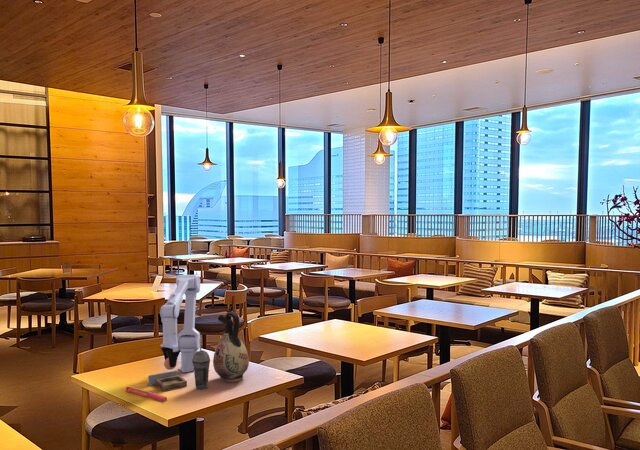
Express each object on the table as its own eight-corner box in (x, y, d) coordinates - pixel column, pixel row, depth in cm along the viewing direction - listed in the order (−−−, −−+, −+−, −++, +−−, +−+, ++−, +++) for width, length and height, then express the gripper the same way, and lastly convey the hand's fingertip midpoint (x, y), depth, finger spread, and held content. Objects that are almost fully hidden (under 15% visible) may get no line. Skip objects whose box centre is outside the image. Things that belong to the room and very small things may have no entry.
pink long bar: (132, 391, 203) (122, 391, 199) (133, 386, 203) (124, 385, 199) (170, 402, 189) (161, 402, 186) (172, 396, 190) (162, 396, 186)
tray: (179, 380, 213) (179, 375, 212) (186, 386, 204) (186, 381, 204) (155, 384, 207) (155, 379, 207) (162, 391, 199) (162, 386, 199)
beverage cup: (194, 392, 196) (193, 343, 196) (190, 387, 203) (189, 339, 203) (212, 389, 200) (211, 340, 199) (208, 384, 206) (207, 337, 206)
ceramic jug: (206, 379, 212) (204, 311, 212) (234, 371, 224) (233, 306, 223) (229, 388, 201) (228, 315, 200) (259, 379, 212) (257, 310, 212)
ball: (174, 366, 209) (174, 355, 209) (178, 369, 205) (178, 357, 205) (162, 368, 206) (162, 357, 206) (166, 372, 202) (165, 359, 202)
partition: (175, 378, 215) (175, 369, 215) (178, 380, 212) (177, 371, 212) (147, 384, 208) (147, 374, 208) (149, 386, 205) (149, 376, 205)
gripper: (155, 331, 209) (156, 363, 209) (165, 337, 197) (166, 371, 197) (171, 329, 213) (172, 360, 213) (183, 335, 201) (183, 368, 201)
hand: (170, 365), depth 205 cm, fingers closed on ball, 5 cm apart
